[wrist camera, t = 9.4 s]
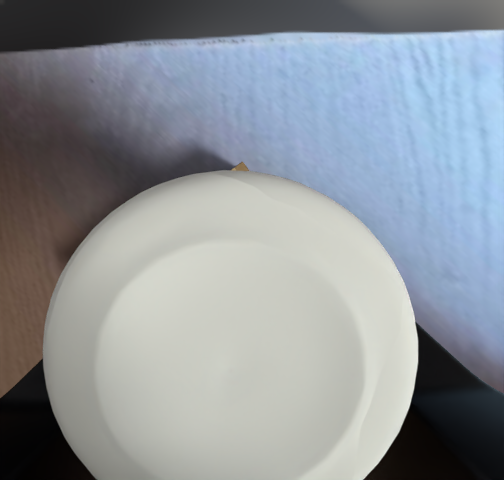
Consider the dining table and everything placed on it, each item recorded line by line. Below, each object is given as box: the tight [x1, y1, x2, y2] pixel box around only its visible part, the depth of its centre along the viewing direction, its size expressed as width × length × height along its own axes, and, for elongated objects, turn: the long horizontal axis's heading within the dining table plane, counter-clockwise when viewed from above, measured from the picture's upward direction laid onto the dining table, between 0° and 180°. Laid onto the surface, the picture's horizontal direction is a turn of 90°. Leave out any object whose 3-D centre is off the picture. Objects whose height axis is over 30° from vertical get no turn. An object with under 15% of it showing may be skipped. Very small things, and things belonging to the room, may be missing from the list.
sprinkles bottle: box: [43, 170, 418, 480], centre depth 10 cm, size 5×5×13 cm
